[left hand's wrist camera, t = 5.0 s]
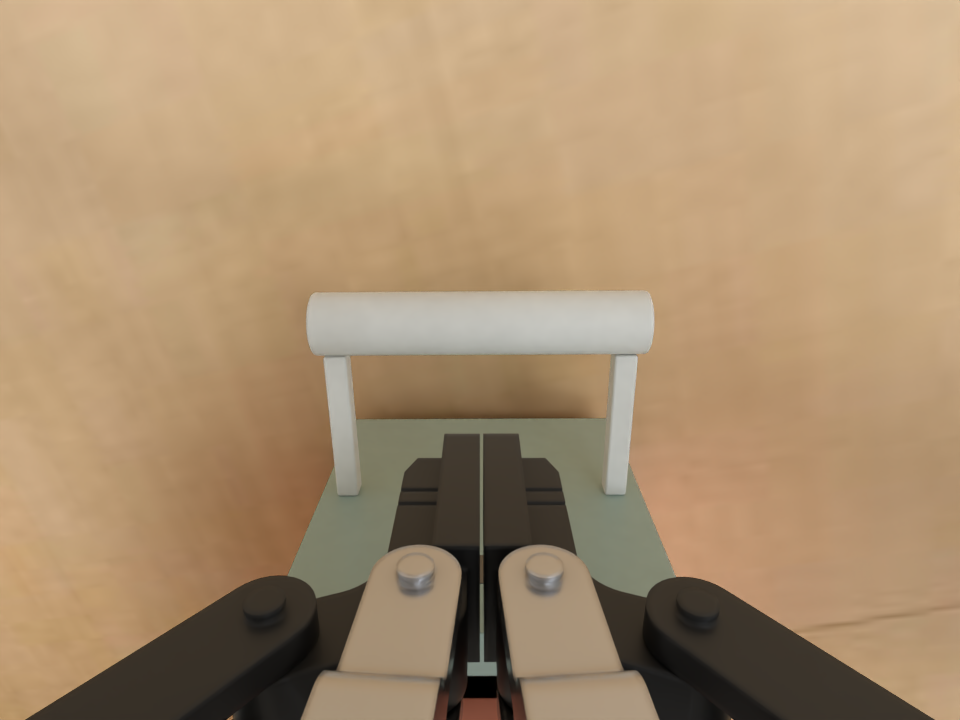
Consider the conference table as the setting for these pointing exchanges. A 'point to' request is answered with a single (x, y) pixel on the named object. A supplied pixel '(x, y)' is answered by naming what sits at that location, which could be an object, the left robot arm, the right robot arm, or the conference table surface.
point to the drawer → (481, 429)
